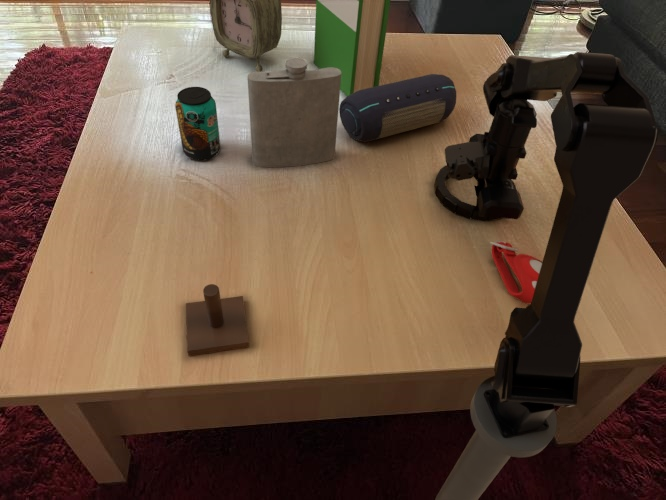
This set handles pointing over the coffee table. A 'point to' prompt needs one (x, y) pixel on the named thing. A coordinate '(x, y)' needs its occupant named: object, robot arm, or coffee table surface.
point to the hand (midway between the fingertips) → (479, 212)
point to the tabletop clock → (247, 26)
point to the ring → (455, 203)
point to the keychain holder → (516, 270)
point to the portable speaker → (398, 107)
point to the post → (216, 323)
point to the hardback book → (351, 40)
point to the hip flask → (293, 114)
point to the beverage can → (198, 123)
